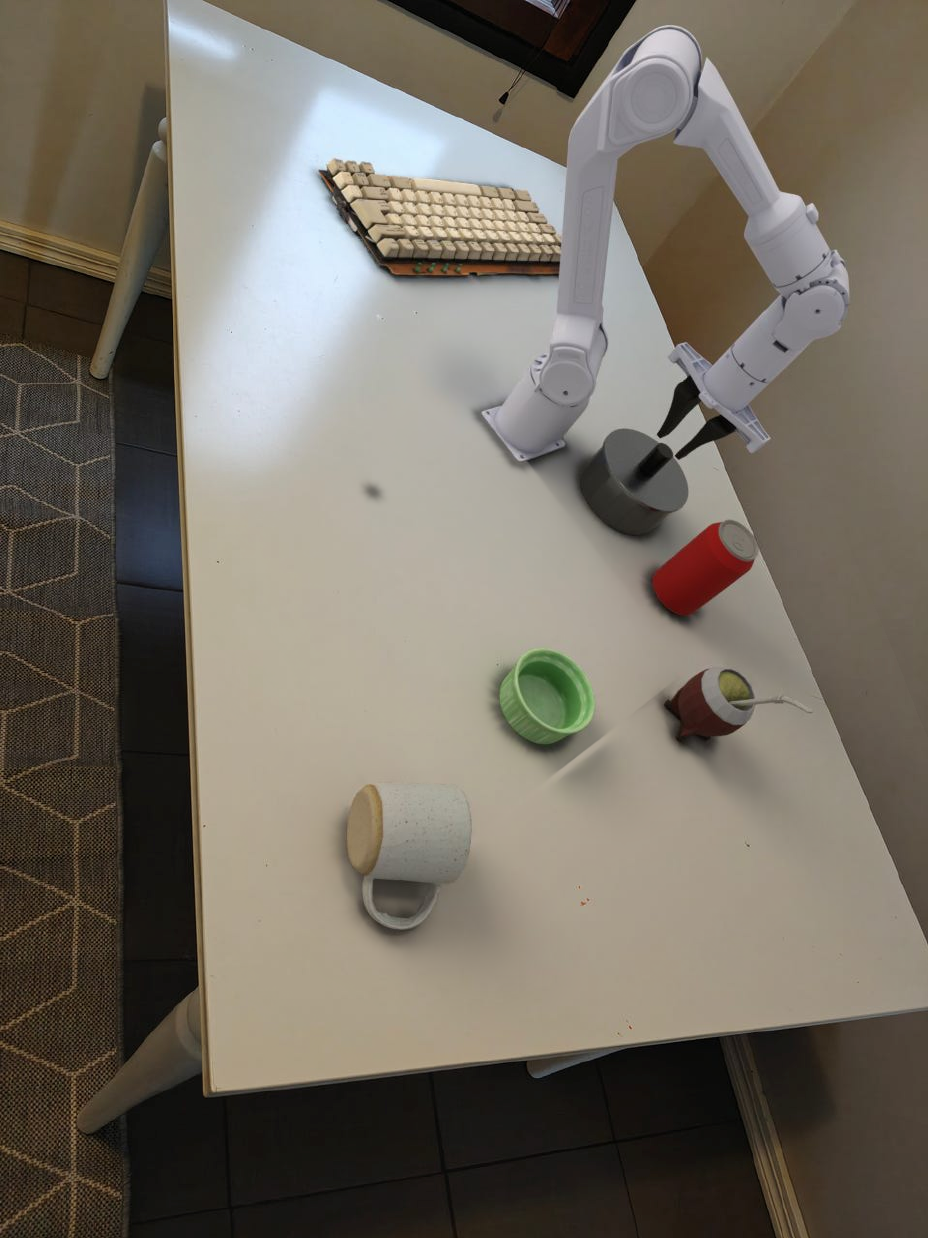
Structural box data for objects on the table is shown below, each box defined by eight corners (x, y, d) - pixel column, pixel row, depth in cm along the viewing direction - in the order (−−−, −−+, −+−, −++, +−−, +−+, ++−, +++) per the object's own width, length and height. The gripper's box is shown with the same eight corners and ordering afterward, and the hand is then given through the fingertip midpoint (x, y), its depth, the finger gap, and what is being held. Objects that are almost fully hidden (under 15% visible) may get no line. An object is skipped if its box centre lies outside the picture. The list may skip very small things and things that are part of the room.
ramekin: (476, 705, 81) (499, 685, 78) (519, 651, 87) (542, 630, 84) (545, 769, 81) (571, 751, 78) (584, 711, 87) (609, 692, 84)
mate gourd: (671, 680, 96) (767, 613, 85) (723, 725, 96) (826, 665, 85) (650, 724, 91) (750, 660, 80) (706, 772, 91) (813, 714, 80)
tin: (615, 452, 113) (640, 425, 109) (670, 520, 111) (697, 495, 107) (563, 473, 106) (588, 445, 102) (621, 546, 104) (648, 520, 100)
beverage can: (696, 590, 106) (765, 535, 97) (689, 628, 102) (761, 575, 93) (652, 561, 105) (719, 504, 96) (644, 599, 101) (712, 542, 92)
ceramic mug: (339, 798, 70) (375, 765, 64) (429, 803, 73) (471, 772, 68) (344, 933, 65) (383, 911, 59) (440, 932, 68) (487, 910, 62)
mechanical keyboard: (509, 189, 137) (520, 170, 134) (573, 276, 132) (585, 259, 130) (310, 174, 113) (319, 151, 110) (379, 280, 108) (390, 259, 106)
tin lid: (636, 424, 110) (658, 399, 107) (699, 499, 108) (723, 476, 105) (581, 447, 102) (603, 422, 98) (647, 529, 100) (673, 505, 96)
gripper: (690, 318, 89) (614, 406, 99) (781, 421, 87) (694, 501, 97) (721, 308, 94) (645, 394, 104) (808, 407, 92) (723, 484, 102)
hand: (671, 445), depth 101 cm, fingers open, 3 cm apart
